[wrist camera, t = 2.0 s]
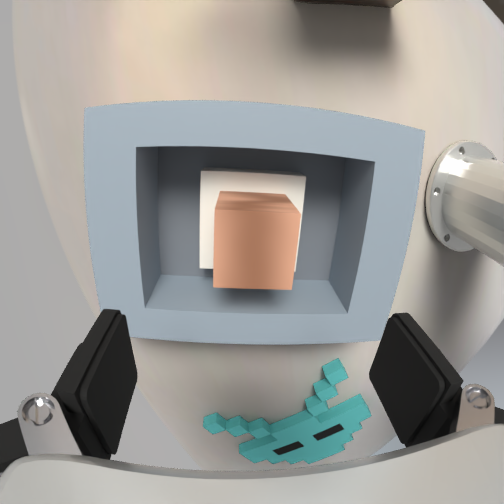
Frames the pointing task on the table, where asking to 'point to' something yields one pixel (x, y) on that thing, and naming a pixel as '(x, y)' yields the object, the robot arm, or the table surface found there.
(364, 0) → the brown manual coffee grinder
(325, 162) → the slot box
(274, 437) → the alien figure
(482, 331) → the table surface
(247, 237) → the terracotta cube
